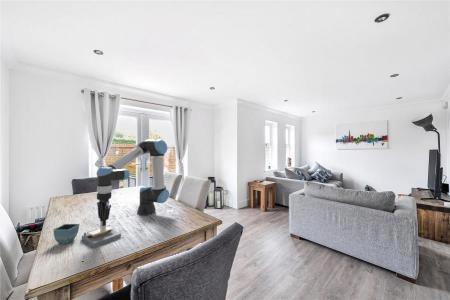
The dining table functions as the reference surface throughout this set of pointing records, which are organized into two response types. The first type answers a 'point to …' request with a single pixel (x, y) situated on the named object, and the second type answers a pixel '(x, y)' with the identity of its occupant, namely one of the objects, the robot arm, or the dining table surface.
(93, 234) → the cover
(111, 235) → the desk card holder
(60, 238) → the flower pot
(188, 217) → the dining table surface
